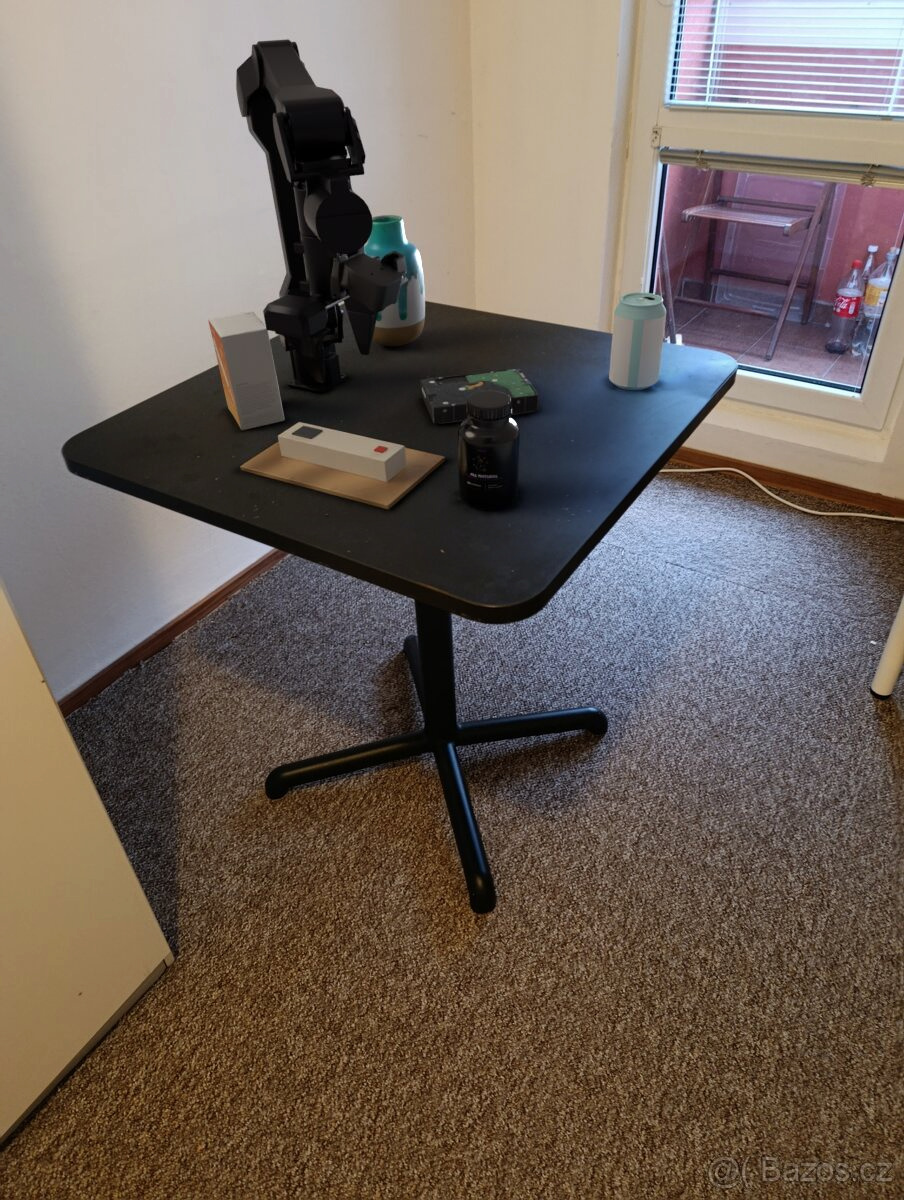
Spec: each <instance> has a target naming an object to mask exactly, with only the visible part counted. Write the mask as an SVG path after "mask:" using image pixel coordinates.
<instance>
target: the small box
mask: <svg viewBox="0 0 904 1200" xmlns="http://www.w3.org/2000/svg"><path fill="white" fill-rule="evenodd" d="M207 321H208V322H207V323H208V325H209V330H210V334H211V338H212V343H213V347H214V351H215V357H216V361H217V364H218V369H219V374H220V379H221V382H222V386H223V391H224V396H225V400H226V401H225V402H226V405H227V409H228V410H229V412H230V414H231V415H232V416H233V418H234V420H235V421H236V423H237V425H238V426H239V428H240V430H241V431H245V430H249V429H250V430H251V429H253V428H259V427H262V426H267V425H271V424H276V423H280V422H283V421H285V420H286V419H285V414H284V409H283V403H282V398H281V393H280V387H279V383H278V377H277V371H276V366H275V361H274V355H273V351H272V344H271V340H270V335H269V330H267V329H266V325H265V323H263V321H262V319H261V318H260V317H259V316H258V315H257V314H256V313H255V312H254V311H246V312H239V313H235V314H228V315H224V316H218V317H213V318H209V319H208V320H207Z"/></svg>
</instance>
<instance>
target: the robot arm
mask: <svg viewBox="0 0 904 1200" xmlns="http://www.w3.org/2000/svg"><path fill="white" fill-rule="evenodd" d="M235 73H236V74H235V75H236V76H235V77H236V79H235V89H236V97H237V103H238V107H239V111H240V115H241V117H242V118H246V125H247V128H248V132H249V134H250V135H251V136H252V138H253V139H254V141H255V142H256V143H257V145H258V146H259V147H260V149H261V150H262V151H263V152H264V154H265V160H266V165H267V170H268V176H269V181H270V188H271V193H272V198H273V204H274V205H273V206H274V210H275V216H276V221H277V227H278V233H279V237H280V244H281V249H282V255H283V261H284V266H285V275H284V279H283V281H282V284H281V286H280V289H279V293H278V298H277V299H275V300H273V301H270V302H268V303H267V304H266V305H265V307H264V309H263V310H262V314H263V318H264V325H265V326H266V329H267V330H268V332H269V331H270V332H274V333H275V334H276V335H279V340H280V343H281V345H282V347H283V350H284V351H285V352H289V354H290V361H291V362H290V363H291V367H292V374H293V379H292V380H290V381H288V382H287V386H288V387H289V388H294V389H299V390H304V391H308V392H313V393H318V394H321V393H324V392H326V391H328V390H330V389H331V388H332V387H334V386H336V385H338V384H339V383H340V382H342V381H344V380H345V379H346V378H347V375H346V374H345V373H341V365H340V357H339V353H338V352H337V350H336V349H337V348H336V344H342V343H343V339H345V334H344V309H343V308H341V307H340V304H341V303H342V302H343V304H344V308H345V310H346V313H347V317H348V320H349V323H350V327H351V330H352V334H353V336H354V340H355V344H356V345H357V348H358V350H359V353H360V355H363V356H368V355H370V353H371V348H372V343H373V340H372V339H373V334H374V329H375V324H376V320H377V316H378V313H379V312H381V311H383V310H384V309H385V308H386V307H388V306H389V305H391V304H395V303H397V301H398V296H399V292H400V288H401V287H403V286H405V285H406V284H407V283H408V279H407V277H406V274H407V269H406V263H405V257H404V255H402V254H401V253H399V252H397V251H392V252H390V253H388V254H386V255H385V256H384V257H383V258H382V260H381V261H380V257H379V256H376V257H374V258H372V257H370V256H368V255H366V253H365V250H364V246H365V245H367V243H368V239H369V237H370V235H371V232H372V225H373V220H372V217H373V215H372V213H371V210H370V207H369V205H368V204H367V203H366V201H365V200H364V199H363V198H362V197H361V196H360V195H359V194H358V193H356V192H355V191H354V190H353V187H352V181H351V177H355V176H364V175H365V167H364V165H365V163H366V157H367V155H366V152H365V148H364V145H363V142H362V138H361V135H360V131H359V127H358V124H357V121H356V119H355V118H354V117H353V116H352V112H351V109H350V108H349V106H345V103H344V101H343V99H342V97H341V96H340V95H339V94H338V93H337V92H335V91H334V90H333V89H332V88H326V87H321V86H317V85H316V83H315V81H314V80H313V78H312V76H311V74H310V72H309V71H308V69H307V68H306V65H305V62H303V60H301V56H300V51H299V47H298V43H297V42H296V41H291V40H290V39H289V38H287V39H273V40H259V41H257V42H256V43H253V44H252V45H251V54H250V55H249V57H247V59H245V60H244V61H243V63H242V64H240V65H239V66H238V67H237V68H236V71H235ZM348 156H349V157H348Z"/></svg>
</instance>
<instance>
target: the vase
mask: <svg viewBox="0 0 904 1200" xmlns="http://www.w3.org/2000/svg"><path fill="white" fill-rule="evenodd" d="M372 220H373V225H372V232H371V235H370V237H369V239H368V241H367V242H366V244H365V245H364V250H365V253H366V255H368V256H370V257H372V258H374V257H376V256H379V257H380V261H381V260H382V258H383V257H384V256H385V255H386V254H388V253H390V252H392V251H397V252H399V253H401V254H402V255H404V257H405V263H406V269H407V274H406V277H407V279H408V283H407V284H406V285H405V286H403V287H401V288H400V292H399V296H398V301H397V303H395V304H391V305H389V306H388V307H386V308H385V309H384V310H383V311H381V312H379V313H378V316H377V320H376V324H375V329H374V334H373V339H372V342H374V343H375V344H377V345H381V346H385V347H401V346H404V345H409V344H411V343H413V342H414V341H416V340H417V339H419V337H420V336H421V334H422V332H423V330H424V326H425V321H426V320H425V319H426V292H425V290H426V289H425V278H424V269H423V262H422V257H421V253H420V251H419V249H418V247H417V246H416V245H415V244H413V243H411V242H409V241H408V239H407V237H406V232H405V231H406V230H405V225H404V219H403V217H402V216H400V215H395V214H382V215H376V216H372Z"/></svg>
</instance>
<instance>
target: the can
mask: <svg viewBox="0 0 904 1200" xmlns="http://www.w3.org/2000/svg"><path fill="white" fill-rule="evenodd" d="M663 303H664V299H663V297H662V296H661V295H658V294H656V293H652V292H641V291H640V292H630V293H626V294H623V295H622V296H620V298H619V303H618V304H617V305H616V306H615V308H614V310H613V323H612V335H611V345H610V346H611V348H610V359H609V360H610V361H609V372H608V379H609V381H610V382H611V383H612V384H614V385H615V386H616V387H617V388H620V389H623V390H628V391H641V390H646V389H648V388H650V387H652V386H654V385H656V384H657V383H658V382H659V379H660V371H661V362H662V354H663V347H664V346H663V345H664V337H665V330H666V329H665V328H666V321H667V309H666V307H665V305H664V304H663Z"/></svg>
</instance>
